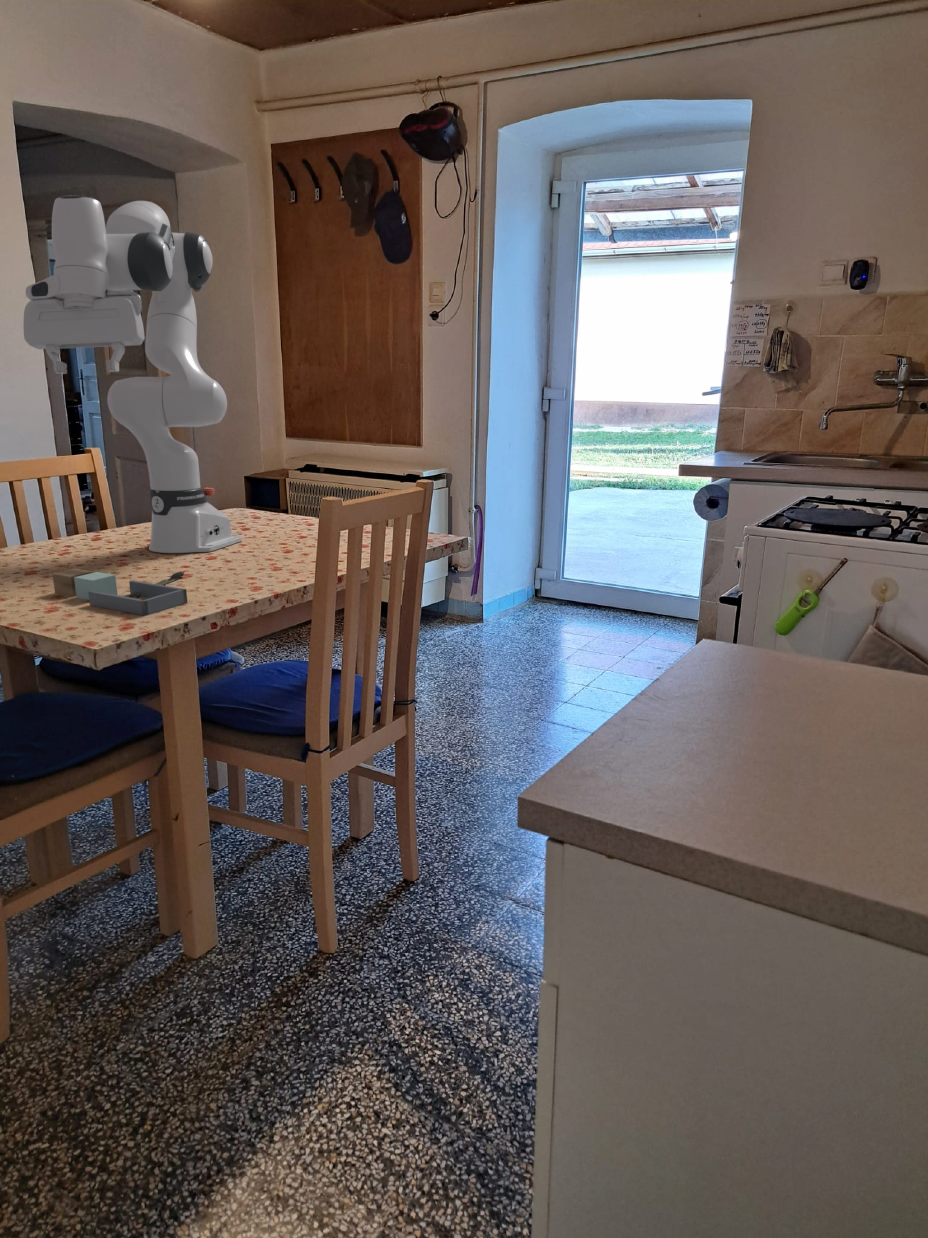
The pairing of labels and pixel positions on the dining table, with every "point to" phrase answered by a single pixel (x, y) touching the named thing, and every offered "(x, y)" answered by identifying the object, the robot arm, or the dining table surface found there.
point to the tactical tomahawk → (162, 582)
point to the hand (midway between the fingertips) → (86, 372)
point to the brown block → (67, 581)
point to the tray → (158, 599)
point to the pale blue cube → (95, 584)
